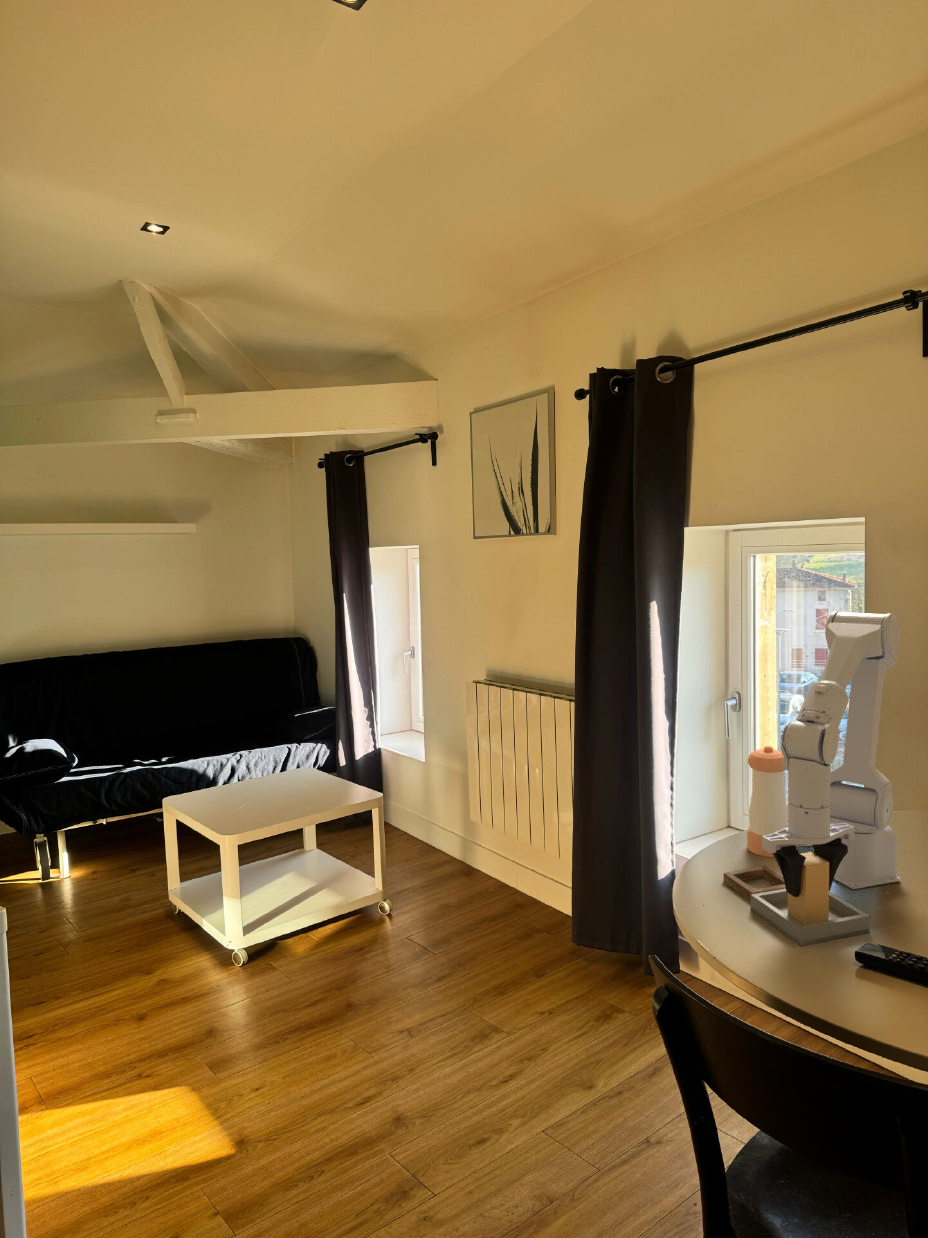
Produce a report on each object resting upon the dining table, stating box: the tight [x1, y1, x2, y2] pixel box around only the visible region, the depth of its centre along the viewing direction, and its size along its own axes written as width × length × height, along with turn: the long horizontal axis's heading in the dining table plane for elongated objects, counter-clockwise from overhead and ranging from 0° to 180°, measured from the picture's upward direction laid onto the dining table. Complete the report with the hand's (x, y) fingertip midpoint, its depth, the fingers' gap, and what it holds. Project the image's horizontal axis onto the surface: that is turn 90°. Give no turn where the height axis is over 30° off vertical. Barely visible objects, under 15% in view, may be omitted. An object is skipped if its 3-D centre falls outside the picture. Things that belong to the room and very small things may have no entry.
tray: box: [750, 888, 871, 947], centre depth 122 cm, size 12×12×2 cm
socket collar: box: [723, 865, 786, 902], centre depth 134 cm, size 8×8×2 cm
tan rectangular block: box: [788, 851, 830, 925], centre depth 122 cm, size 4×4×9 cm
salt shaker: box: [746, 745, 788, 858], centre depth 148 cm, size 7×7×19 cm
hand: (808, 891), depth 122 cm, fingers open, 5 cm apart
